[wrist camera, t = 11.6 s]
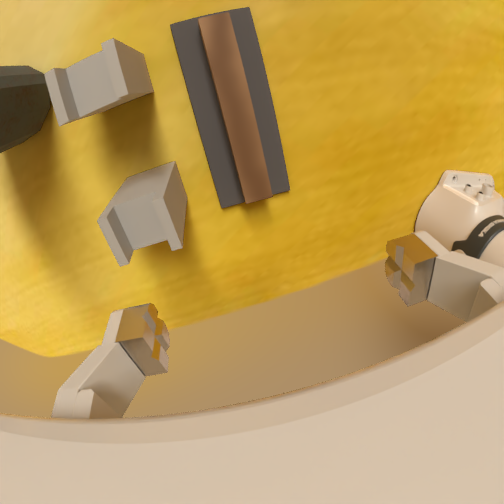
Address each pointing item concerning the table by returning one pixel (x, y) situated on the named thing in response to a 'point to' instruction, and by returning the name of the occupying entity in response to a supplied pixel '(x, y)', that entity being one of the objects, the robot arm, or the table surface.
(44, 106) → the bottle
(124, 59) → the post
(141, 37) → the table surface
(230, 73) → the rail
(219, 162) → the mat
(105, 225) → the post
